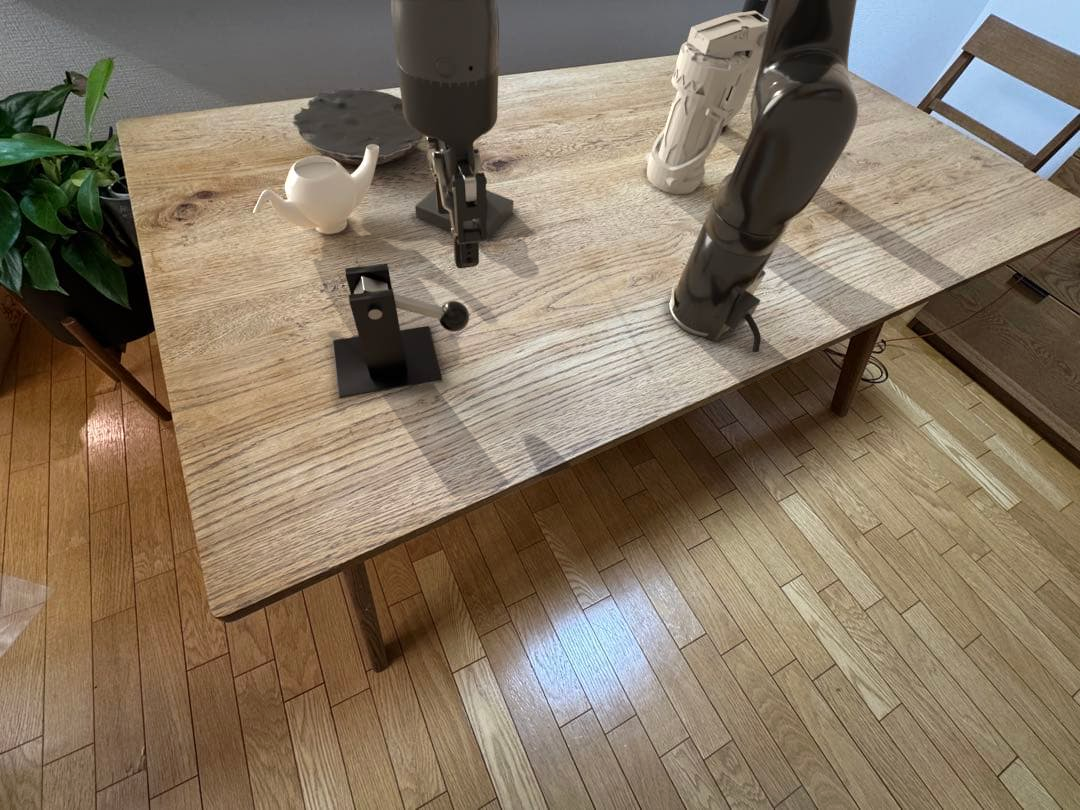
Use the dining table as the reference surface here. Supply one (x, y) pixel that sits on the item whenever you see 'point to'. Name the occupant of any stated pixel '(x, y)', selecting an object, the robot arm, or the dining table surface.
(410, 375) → the bracket
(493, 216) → the control block
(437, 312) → the lever
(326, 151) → the board
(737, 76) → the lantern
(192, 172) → the dining table surface
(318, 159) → the teapot
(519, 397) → the dining table surface
